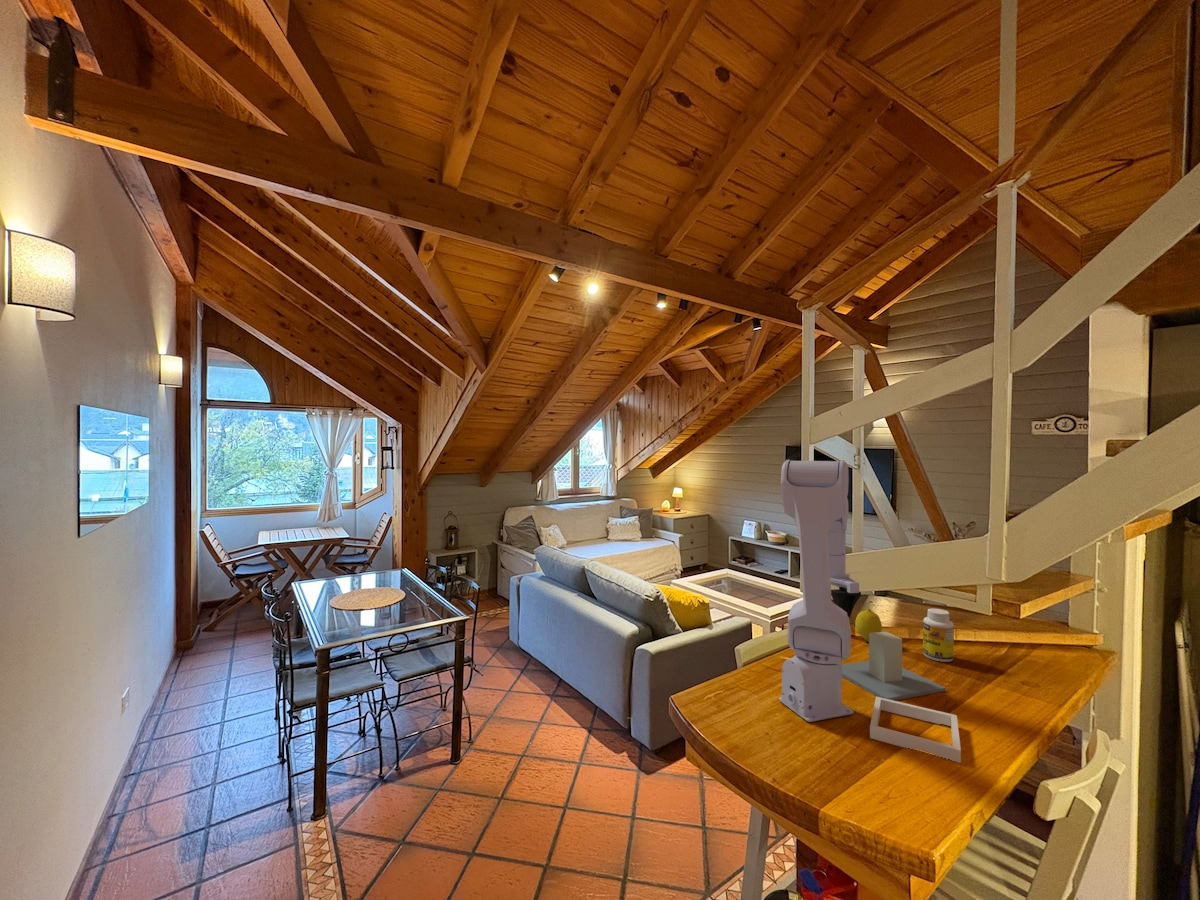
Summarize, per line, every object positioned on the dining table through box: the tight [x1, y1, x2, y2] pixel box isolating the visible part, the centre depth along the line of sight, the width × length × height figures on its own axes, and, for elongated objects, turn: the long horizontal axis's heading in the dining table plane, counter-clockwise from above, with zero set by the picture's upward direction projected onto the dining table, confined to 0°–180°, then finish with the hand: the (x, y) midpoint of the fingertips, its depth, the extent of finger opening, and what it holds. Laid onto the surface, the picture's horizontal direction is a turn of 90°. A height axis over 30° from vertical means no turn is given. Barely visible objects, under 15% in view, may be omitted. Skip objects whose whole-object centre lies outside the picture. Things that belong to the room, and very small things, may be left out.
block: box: [868, 631, 903, 682], centre depth 99 cm, size 4×4×8 cm
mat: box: [842, 660, 946, 701], centre depth 99 cm, size 14×14×1 cm
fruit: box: [854, 607, 883, 643], centre depth 119 cm, size 6×6×8 cm
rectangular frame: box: [869, 696, 962, 764], centre depth 81 cm, size 12×12×2 cm
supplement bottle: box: [922, 607, 955, 663], centre depth 110 cm, size 6×6×10 cm
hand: (829, 618), depth 104 cm, fingers open, 7 cm apart
